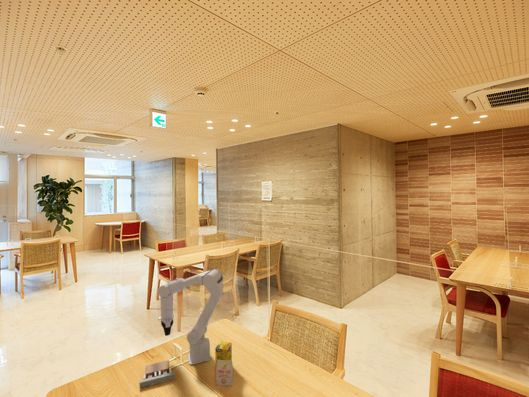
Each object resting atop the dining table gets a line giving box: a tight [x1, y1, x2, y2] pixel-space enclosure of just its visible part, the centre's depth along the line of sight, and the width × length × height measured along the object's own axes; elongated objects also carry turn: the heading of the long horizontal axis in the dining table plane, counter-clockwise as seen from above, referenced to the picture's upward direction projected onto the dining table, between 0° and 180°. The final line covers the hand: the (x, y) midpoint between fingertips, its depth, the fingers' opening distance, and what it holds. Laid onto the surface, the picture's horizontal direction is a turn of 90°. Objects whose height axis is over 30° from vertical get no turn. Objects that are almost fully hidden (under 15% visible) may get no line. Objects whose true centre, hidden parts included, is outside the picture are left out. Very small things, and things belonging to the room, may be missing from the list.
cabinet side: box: [139, 367, 176, 389], centre depth 117 cm, size 14×4×2 cm, turn 112°
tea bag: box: [214, 359, 234, 388], centre depth 115 cm, size 4×7×10 cm, turn 85°
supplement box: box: [214, 340, 233, 363], centre depth 124 cm, size 6×6×11 cm
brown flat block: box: [144, 359, 171, 379], centre depth 121 cm, size 10×9×3 cm
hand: (167, 334), depth 135 cm, fingers closed
